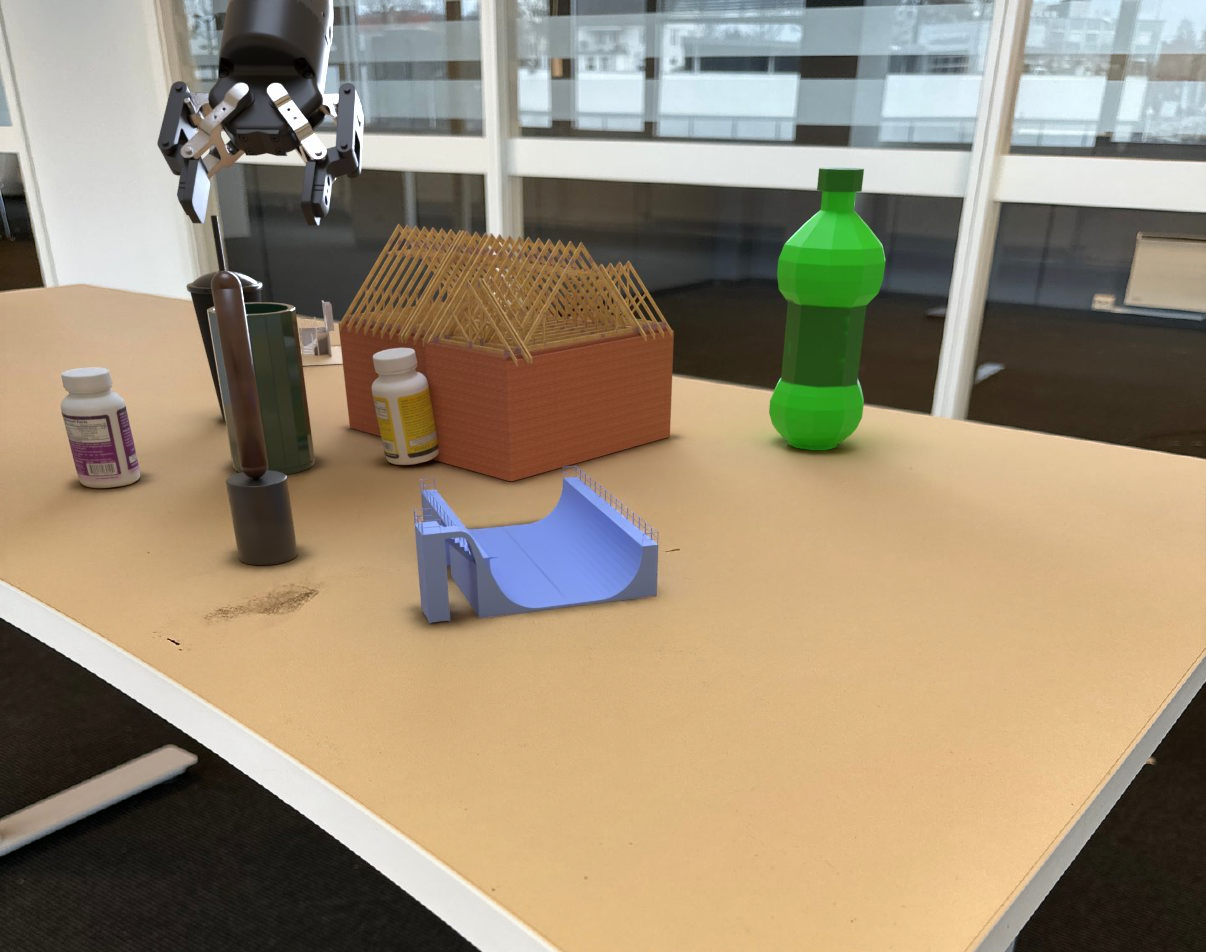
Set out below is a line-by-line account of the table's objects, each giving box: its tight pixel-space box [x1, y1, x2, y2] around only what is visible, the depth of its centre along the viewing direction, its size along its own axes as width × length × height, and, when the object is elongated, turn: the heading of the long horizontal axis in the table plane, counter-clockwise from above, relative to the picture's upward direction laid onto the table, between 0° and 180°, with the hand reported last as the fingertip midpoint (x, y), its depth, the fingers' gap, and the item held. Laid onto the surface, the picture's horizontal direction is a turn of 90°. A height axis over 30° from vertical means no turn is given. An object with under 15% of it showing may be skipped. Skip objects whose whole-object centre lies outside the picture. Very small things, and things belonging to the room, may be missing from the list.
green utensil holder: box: [207, 301, 315, 476], centre depth 104 cm, size 8×8×14 cm
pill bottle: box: [60, 366, 141, 489], centre depth 100 cm, size 5×5×10 cm
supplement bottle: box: [372, 348, 439, 466], centre depth 107 cm, size 5×5×10 cm
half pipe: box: [413, 465, 659, 625], centre depth 83 cm, size 18×16×7 cm
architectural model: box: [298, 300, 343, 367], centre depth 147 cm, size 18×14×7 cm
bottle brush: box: [211, 270, 299, 566], centre depth 81 cm, size 4×4×20 cm
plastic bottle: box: [768, 167, 886, 451], centre depth 110 cm, size 10×10×25 cm
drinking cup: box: [186, 214, 264, 422], centre depth 119 cm, size 8×8×20 cm
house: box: [338, 223, 675, 482], centre depth 114 cm, size 28×23×19 cm
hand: (251, 216), depth 80 cm, fingers open, 8 cm apart
